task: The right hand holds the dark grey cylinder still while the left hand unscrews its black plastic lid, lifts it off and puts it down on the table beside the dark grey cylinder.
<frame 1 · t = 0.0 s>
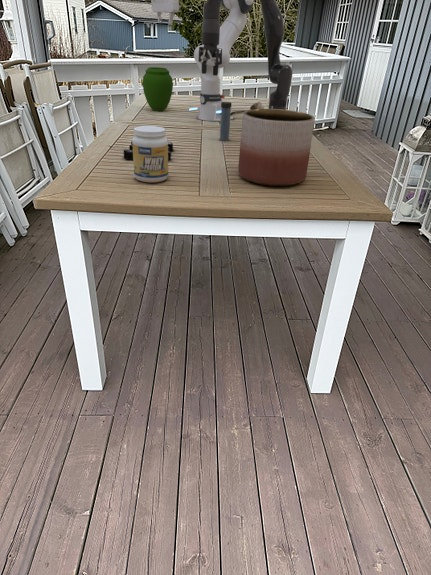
left hand: (165, 23, 208), 48 cm above the table, tool pointing down, fingers open, 8 cm apart
right hand: (209, 74, 182), 29 cm above the table, tool pointing down, fingers open, 8 cm apart
dark grey cylinder: (224, 140, 204), on the table
black printed glove: (151, 152, 178), on the table
lid: (226, 103, 195), point 17 cm above the table, screwed on, not yet turned
planter: (271, 177, 154), on the table
seashell: (256, 115, 268), on the table
vase: (158, 110, 268), on the table
supplement tub: (151, 178, 146), on the table
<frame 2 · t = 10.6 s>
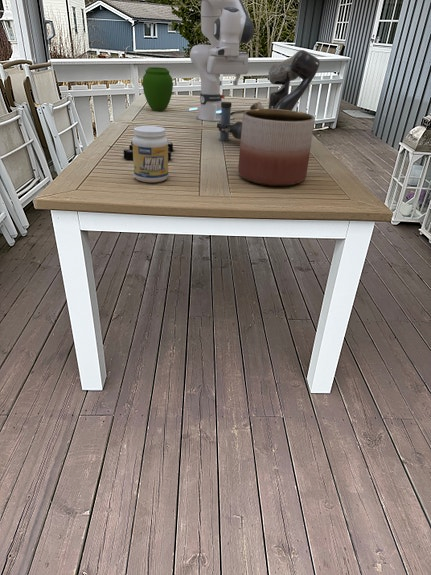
left hand: (227, 85, 190), 25 cm above the table, tool pointing down, fingers open, 7 cm apart
right hand: (221, 124, 202), 7 cm above the table, tool horizontal, fingers closed on dark grey cylinder, 4 cm apart
dark grey cylinder: (224, 140, 204), on the table, touching right hand
everything else where it was.
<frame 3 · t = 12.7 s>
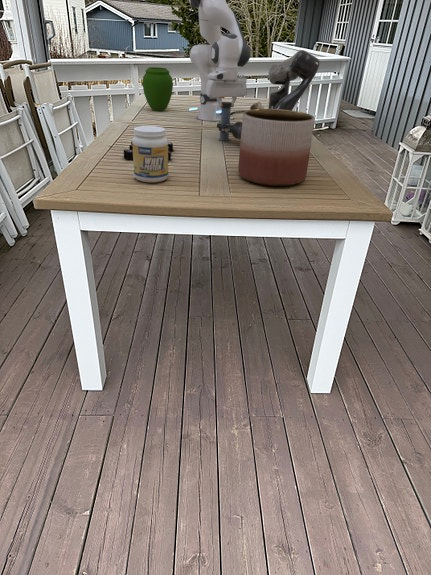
left hand: (226, 107, 195), 15 cm above the table, tool pointing down, fingers closed on lid, 5 cm apart
right hand: (221, 124, 202), 7 cm above the table, tool horizontal, fingers closed on dark grey cylinder, 4 cm apart
dark grey cylinder: (224, 140, 204), on the table, touching right hand
lid: (226, 103, 195), point 17 cm above the table, screwed on, not yet turned, touching left hand
everything else where it was.
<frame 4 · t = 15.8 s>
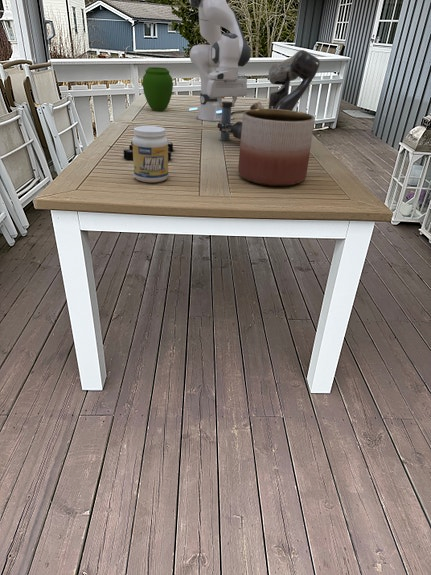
left hand: (226, 107, 195), 15 cm above the table, tool pointing down, fingers closed on lid, 5 cm apart
right hand: (222, 124, 202), 7 cm above the table, tool horizontal, fingers closed on dark grey cylinder, 4 cm apart
dark grey cylinder: (224, 140, 204), on the table, touching right hand
lid: (226, 102, 195), point 17 cm above the table, turned 72° so far, risen 0.1 cm, still on its thread, touching left hand
everything else where it was.
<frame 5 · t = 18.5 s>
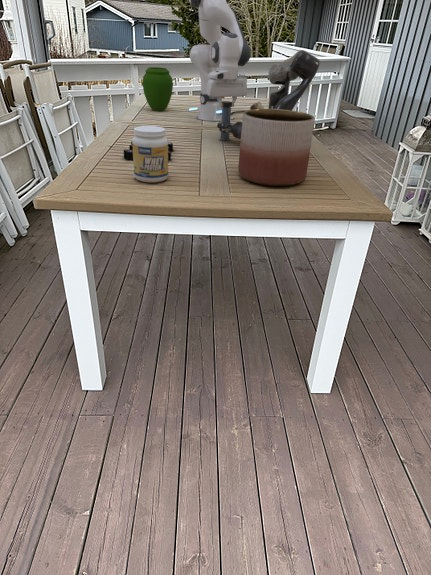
left hand: (226, 106, 195), 15 cm above the table, tool pointing down, fingers closed on lid, 4 cm apart
right hand: (222, 124, 202), 7 cm above the table, tool horizontal, fingers closed on dark grey cylinder, 4 cm apart
dark grey cylinder: (224, 140, 204), on the table, touching right hand
lid: (226, 102, 194), point 17 cm above the table, turned 143° so far, risen 0.2 cm, still on its thread, touching left hand
everything else where it was.
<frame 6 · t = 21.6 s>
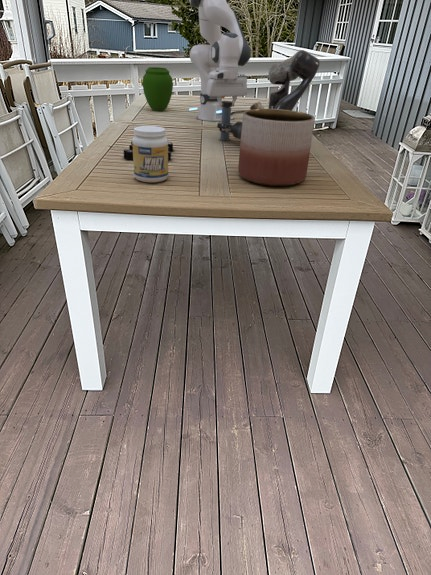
left hand: (226, 106, 195), 15 cm above the table, tool pointing down, fingers closed on lid, 5 cm apart
right hand: (222, 124, 202), 7 cm above the table, tool horizontal, fingers closed on dark grey cylinder, 4 cm apart
dark grey cylinder: (224, 140, 204), on the table, touching right hand
lid: (226, 102, 194), point 17 cm above the table, turned 214° so far, risen 0.3 cm, still on its thread, touching left hand
everything else where it was.
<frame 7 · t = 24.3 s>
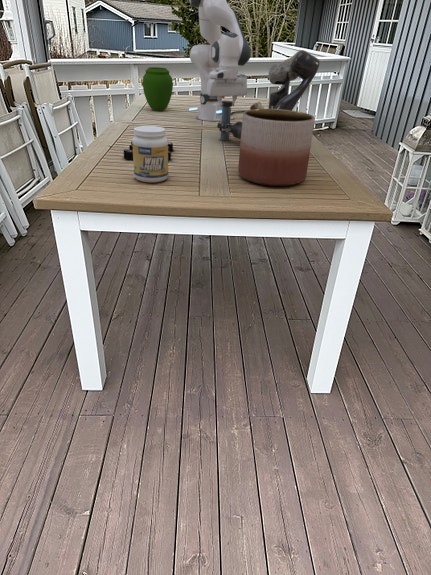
left hand: (226, 106, 195), 16 cm above the table, tool pointing down, fingers closed on lid, 5 cm apart
right hand: (222, 124, 202), 7 cm above the table, tool horizontal, fingers closed on dark grey cylinder, 4 cm apart
dark grey cylinder: (224, 140, 204), on the table, touching right hand
lid: (226, 102, 194), point 17 cm above the table, turned 286° so far, risen 0.4 cm, still on its thread, touching left hand
everything else where it was.
when the left hand's fingers open (2 cm above the table, at t = 33.0 s): lid drops 2 cm, point 2 cm above the table.
when the right hand's fingers open (7 cm above the table, at t = 34.0 s): dark grey cylinder stays where it is, on the table.
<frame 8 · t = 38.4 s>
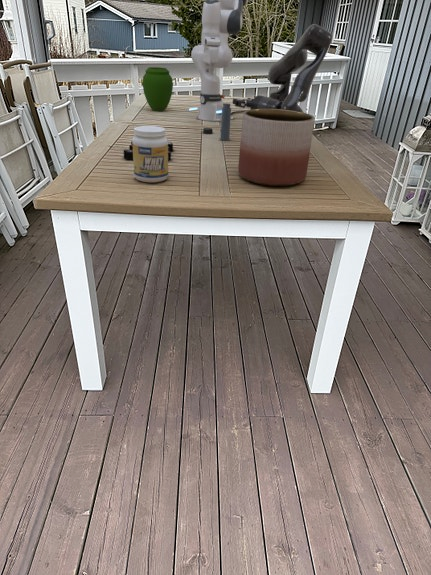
left hand: (209, 73, 202), 28 cm above the table, tool pointing down, fingers open, 8 cm apart
right hand: (240, 100, 186), 19 cm above the table, tool horizontal, fingers open, 8 cm apart
dark grey cylinder: (224, 140, 204), on the table
lid: (207, 129, 215), point 2 cm above the table, off its thread
everything else where it was.
at the end: lid came off its thread; lid point 1.8 cm above the table; the left hand is holding nothing; the right hand is holding nothing; dark grey cylinder tilted 0°; dark grey cylinder moved 0.4 cm from its start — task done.
